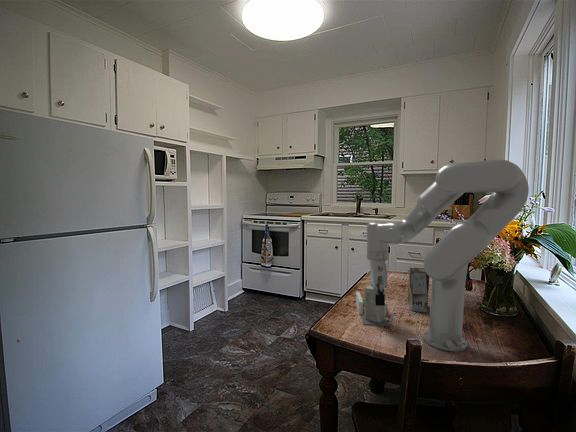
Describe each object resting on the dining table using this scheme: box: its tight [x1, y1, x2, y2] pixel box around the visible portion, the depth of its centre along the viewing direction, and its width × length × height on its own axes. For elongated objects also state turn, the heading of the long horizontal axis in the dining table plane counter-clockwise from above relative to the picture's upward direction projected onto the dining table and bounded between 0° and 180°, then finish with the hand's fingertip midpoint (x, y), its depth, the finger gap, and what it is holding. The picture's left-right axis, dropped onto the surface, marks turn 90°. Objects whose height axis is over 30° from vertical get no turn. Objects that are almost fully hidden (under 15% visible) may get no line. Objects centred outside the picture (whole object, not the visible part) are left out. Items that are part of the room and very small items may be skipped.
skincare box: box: [364, 284, 384, 323], centre depth 115 cm, size 6×4×12 cm
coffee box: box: [407, 267, 430, 313], centre depth 129 cm, size 9×6×16 cm
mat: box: [360, 313, 390, 327], centre depth 116 cm, size 9×9×1 cm
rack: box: [355, 291, 388, 317], centre depth 127 cm, size 12×10×5 cm
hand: (377, 300), depth 115 cm, fingers open, 9 cm apart
